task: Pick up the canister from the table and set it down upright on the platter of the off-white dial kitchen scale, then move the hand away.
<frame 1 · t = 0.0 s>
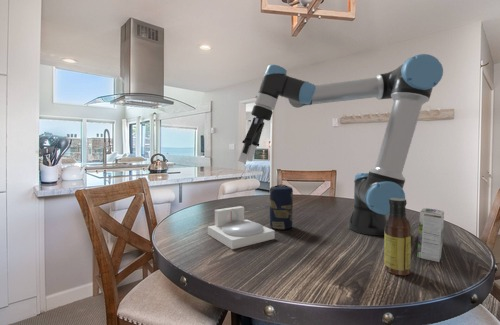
hand: (245, 161, 101), 28 cm above the table, tool tilted 20°, fingers open, 13 cm apart
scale: (240, 236, 99), on the table
sauce bottle: (396, 272, 72), on the table
canister: (280, 227, 110), on the table
syrup box: (429, 257, 81), on the table
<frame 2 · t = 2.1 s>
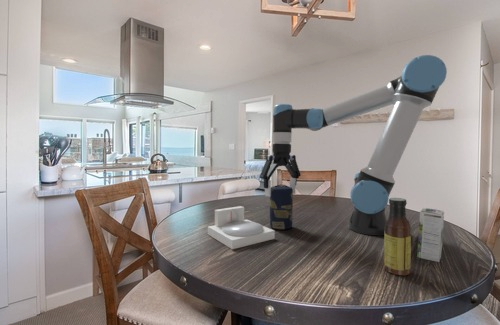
hand: (280, 194, 110), 14 cm above the table, tool pointing down, fingers open, 13 cm apart
nothing on the table moved.
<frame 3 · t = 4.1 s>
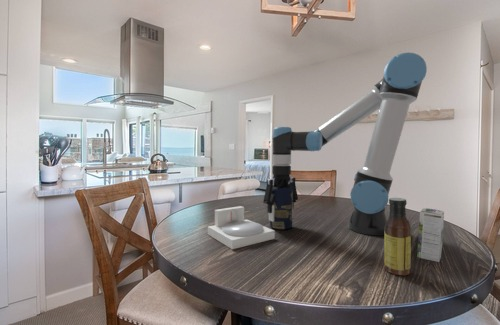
hand: (280, 218, 110), 4 cm above the table, tool pointing down, fingers closed on canister, 9 cm apart
canister: (280, 227, 110), on the table, touching gripper
everything else where it was.
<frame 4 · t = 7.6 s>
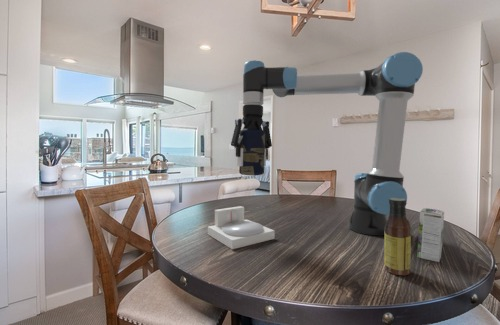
hand: (251, 165, 99), 26 cm above the table, tool pointing down, fingers closed on canister, 9 cm apart
canister: (251, 175, 100), point 22 cm above the table, touching gripper
everything else where it was.
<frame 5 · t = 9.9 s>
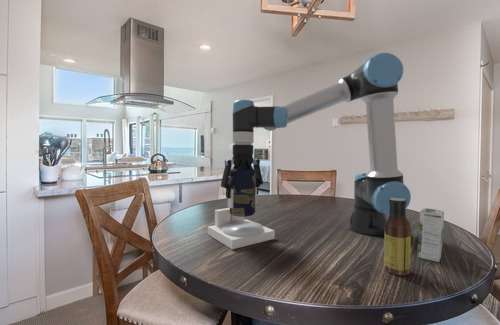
hand: (242, 205, 97), 12 cm above the table, tool pointing down, fingers closed on canister, 9 cm apart
canister: (242, 215, 97), point 8 cm above the table, touching gripper
everything else where it was.
when the fingers open (9 cm above the table, at t = 11.5 s): canister stays where it is, resting on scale.
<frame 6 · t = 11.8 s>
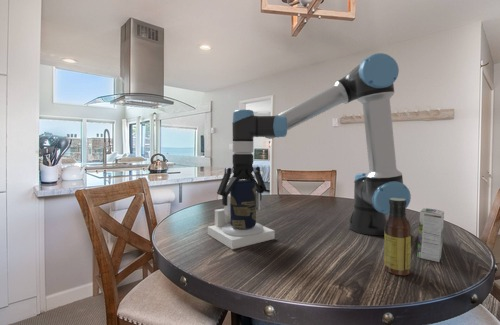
hand: (242, 212, 97), 10 cm above the table, tool pointing down, fingers open, 12 cm apart
canister: (243, 227, 98), point 4 cm above the table, touching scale
everything else where it was.
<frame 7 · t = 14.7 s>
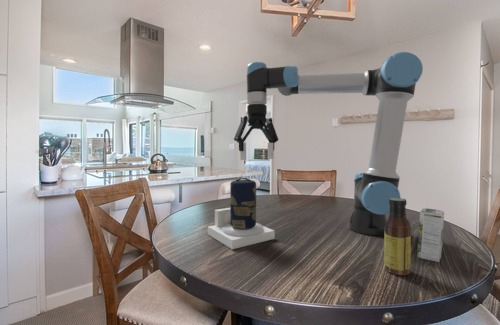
hand: (257, 159, 104), 28 cm above the table, tool pointing down, fingers open, 13 cm apart
nothing on the table moved.
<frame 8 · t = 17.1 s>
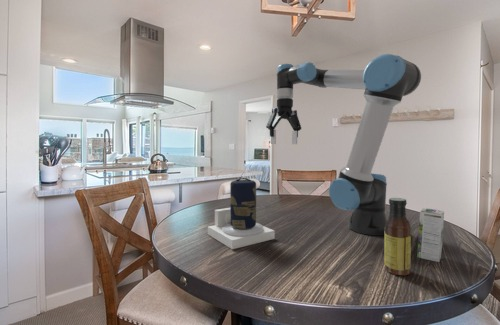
hand: (284, 144, 126), 35 cm above the table, tool pointing down, fingers open, 13 cm apart
nothing on the table moved.
at the end: canister inside the target area on the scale (0.3 cm from its centre), point 3.8 cm above the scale's base; canister tilted 0°; the gripper is holding nothing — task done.
